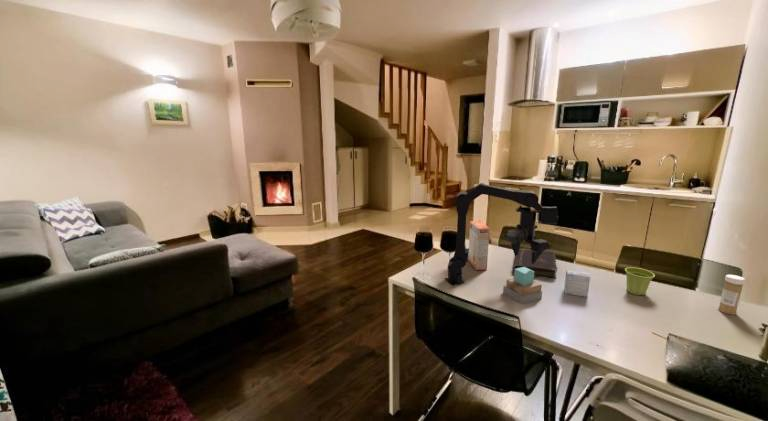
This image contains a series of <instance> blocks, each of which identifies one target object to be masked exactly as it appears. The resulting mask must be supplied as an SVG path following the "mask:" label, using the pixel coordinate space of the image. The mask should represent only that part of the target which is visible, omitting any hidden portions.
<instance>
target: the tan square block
mask: <svg viewBox="0 0 768 421" xmlns="http://www.w3.org/2000/svg"><path fill="white" fill-rule="evenodd" d="M542 286H543V284H541V283H540V282H537V281H535V280H533V283H532V284H528V285H524V286H523V285H521V284H519V283H517V282H515V281H514V277H513V278H508V279H506V287H508V288H510V289H512V290H513V291H515V292H517V293H519V294H521V295H522V296H527V295H531V294H534V293H538V292H541V291H542Z"/></svg>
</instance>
